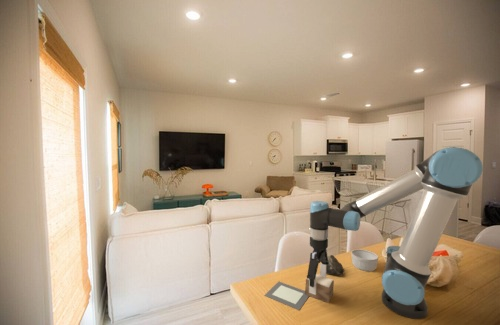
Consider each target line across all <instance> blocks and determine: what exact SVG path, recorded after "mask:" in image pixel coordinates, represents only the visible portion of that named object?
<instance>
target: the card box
mask: <svg viewBox="0 0 500 325" xmlns="http://www.w3.org/2000/svg"><path fill="white" fill-rule="evenodd" d="M334 284H335V281H334V279H332V278H328V277H327V276H326V277H324V276H321V275H320V274H319V273H316V295H314V294H312V293H309V279H308V278H307V277H306V279H305V288H304V291H305V294H306V295H308V296H309V297H312V298H314V299H316V300H319V301H321V302H324V303H327V304H329V303H330V301H331V299H332V297H333V295H334Z"/></svg>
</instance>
